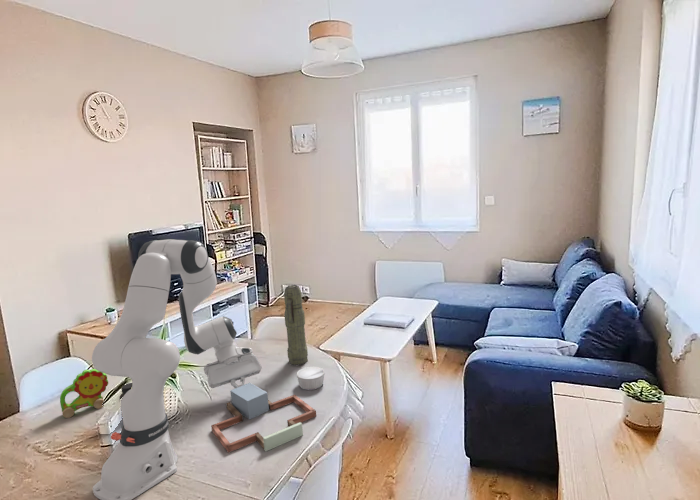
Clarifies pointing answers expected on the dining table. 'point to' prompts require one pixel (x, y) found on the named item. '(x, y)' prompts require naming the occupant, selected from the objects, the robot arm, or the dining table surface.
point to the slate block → (250, 400)
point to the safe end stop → (282, 436)
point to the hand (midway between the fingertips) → (241, 390)
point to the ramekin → (310, 377)
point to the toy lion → (85, 392)
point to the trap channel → (256, 436)
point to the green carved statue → (295, 326)
